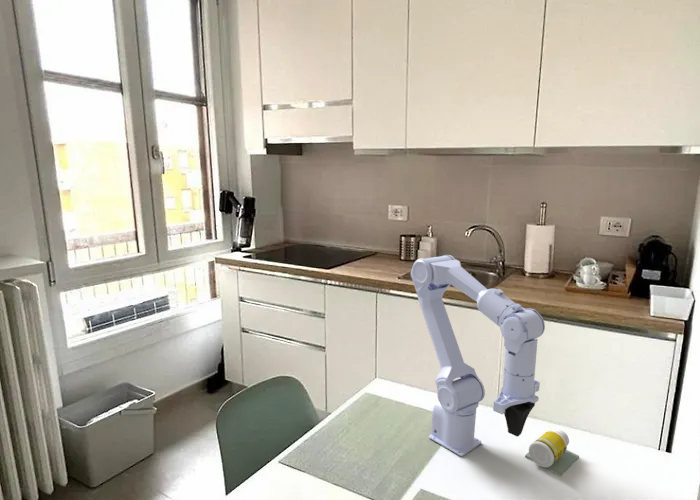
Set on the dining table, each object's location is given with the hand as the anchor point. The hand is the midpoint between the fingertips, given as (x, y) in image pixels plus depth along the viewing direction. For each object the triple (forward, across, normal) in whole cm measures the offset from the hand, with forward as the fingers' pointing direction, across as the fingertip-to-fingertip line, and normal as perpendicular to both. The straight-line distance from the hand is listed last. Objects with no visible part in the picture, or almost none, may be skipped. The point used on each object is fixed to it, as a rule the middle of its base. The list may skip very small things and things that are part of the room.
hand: (514, 433), depth 94 cm
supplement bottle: (+7, +7, -2) cm, 11 cm away
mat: (+10, +14, -2) cm, 17 cm away
